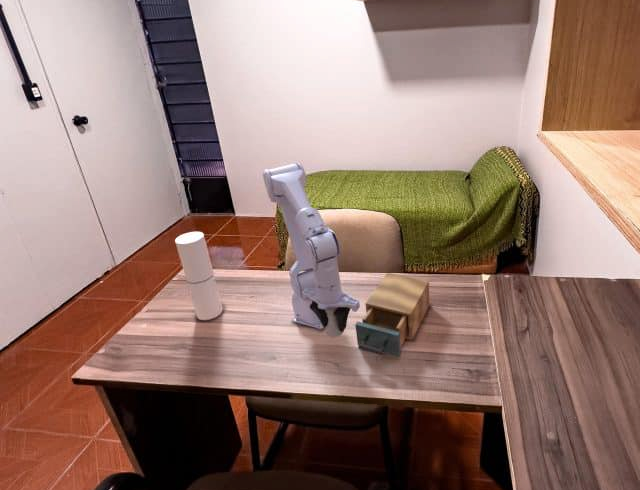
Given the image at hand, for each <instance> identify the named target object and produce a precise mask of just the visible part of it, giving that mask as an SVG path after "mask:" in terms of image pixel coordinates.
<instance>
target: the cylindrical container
mask: <svg viewBox="0 0 640 490" xmlns="http://www.w3.org/2000/svg"><path fill="white" fill-rule="evenodd" d="M174 242H175V245H176V250H177V253H178V257H179V260H180V263H181V266H182V270H183V274H184V276H185V277H184V278H185V280H186V283H187V288H188V291H189V294H190V297H191V300H192V304H193V307H194V311H195V314H196V317H197V319H198V320H201V321H209V320H212V319H215V318H217V317H219V316H220V315H221V314H222V312H223V309H224V308H223V304H222V301H221V300H222V299H221V297H220V293H219V289H218V284H217V281H216V276H215V273H214V269H213V266H212V262H211V258H210V254H209V250H208V245H207V241H206V238H205V234H204V232H202V231H190V232H186V233H183V234H180V235H179V236H177V237H176V238H175V240H174Z"/></svg>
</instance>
